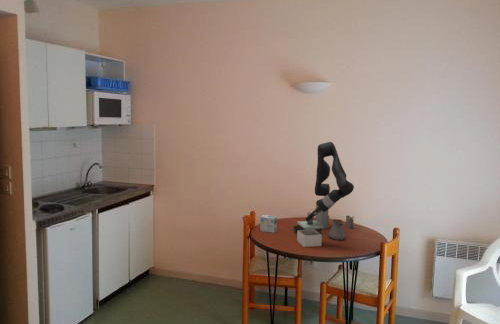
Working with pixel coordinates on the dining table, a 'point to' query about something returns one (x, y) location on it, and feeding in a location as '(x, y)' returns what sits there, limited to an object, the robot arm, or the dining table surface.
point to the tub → (309, 238)
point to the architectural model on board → (349, 222)
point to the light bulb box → (268, 223)
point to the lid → (310, 224)
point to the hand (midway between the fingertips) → (307, 219)
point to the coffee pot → (337, 230)
